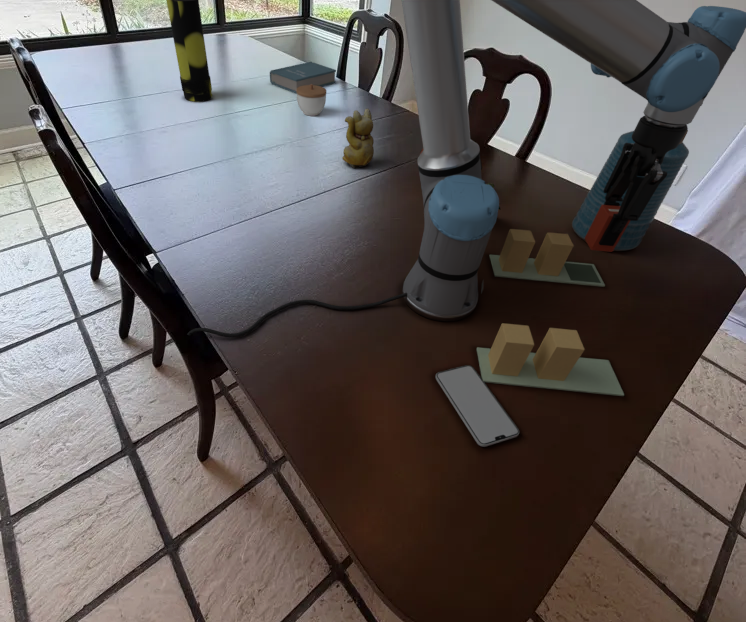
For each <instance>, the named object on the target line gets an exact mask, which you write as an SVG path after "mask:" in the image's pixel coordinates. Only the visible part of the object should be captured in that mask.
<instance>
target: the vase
mask: <svg viewBox="0 0 746 622" xmlns="http://www.w3.org/2000/svg"><path fill="white" fill-rule="evenodd" d="M633 132H634V130H631V131H627V132H624V133H622V134H620V136H619V137H618V139H617V141H616V143H615V144H614V147H613V149H612V151H611V152H610V154H609V155H608V158H607V159H606V161H605V162H604V165H602V168H601V170H600V172H599V173H598V175H597V176H596V179H595V180H594V182H593V184H592V186H591V187H590V189H589V191H588V192H587V194H586V196H585V197H584V200H583V201H582V203H581V205H580V207H579V208H578V210H577V212H576V214H575V216H574V218H573V219H572V221H571V227H572V230H573V232H574V233H575V234H576V235H577V237H579V239H581V240H582V241H583V242H585V243H587V242H586V240H585V236H586V235H587V233H588V231H589V229H590V227H591V225H592V223H593V221H594V219H595V217H596V215H597V213H598V211H599V209H600V207H601V205H604V203H605V201H606V200H605V196H606V193H604V192H603V191H604V188H605V186H606V184H607V182H608V180H609V178H610V176H611V174H612V172H613V170H614V168H615V166H616V164H617V162H618V160H619V158H620V156H621V153H622V150H623V146H624V144H625V143H635V142H634V141H633V140H632V134H633ZM688 132H689V130H687V131H686V133H685V135H684V136H683V138H682V140H681V142H680V143H679V145H678V146H677V148H675V149H673V150H670V151H668V152H667V153H666V154H665V156H664V160H663V163H662V164H661V170H662V171H666V172H667V176H666V178H665V179H664V180H663V181H662V182H661V183H660V184H659V186H658V187H657V189H656V190H655V192H654V194H653V195H652V197H651V199H650V200H649V202H648V204H647V205H646V207H645V209H644V210H643V212H642V214H641V215H640V217H639V219H638V220H637V221H632V220H631V221H630V222H629V224H628V226H627V227H626V229H625V231H624V233H623V234H622V236H621V238H620V240H619V241H618V243H617V245H616V247H615V248H614V250H613V252H623V251H631V250H633V249H635V248H637V247H639V245H640V244H641V243H642V241H643V238H644V236H645V235H646V234H647V232H648V230H649V228H650V227H651V224H652V222H653V221H654V219H655V217H656V216H657V214H658V211H659V209H660V207H661V206H662V203H663V202H664V200H665V198H666V196H667V195H668V193H669V192H670V189H671V187H672V185H673V184H674V182H675V180H676V178H677V176H678V175H679V172H680V171H681V168H682V167H683V165H684V164H685V162H686V160H687V158H689V154H690V150H689V148H688V147H687V146H686V144H685V143H684V140H685V138H686V137H687V134H688ZM637 177H644V176H637ZM611 187H612V186H611ZM626 192H627V190H626ZM626 192H625V193H624V194H623V196H622V197H621V198H622V199H624V197H625V194H626ZM616 202H617V203H619V204H620V205H619V206H621V204H622V202H623V201H622V202H620V201H616Z"/></svg>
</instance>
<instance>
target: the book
mask: <svg viewBox="0 0 746 622" xmlns="http://www.w3.org/2000/svg"><path fill="white" fill-rule="evenodd" d="M336 72H337V70H336V69H335V68H331V67H328V66H326V65H322V64H319V63H316V62H313V61H307V62H304V63H298V64H294V65H289V66H285V67H281V68H276V69H271V70H270V71H269V82H270V84H271V85H274V86H275V87H278V88H280V89H284V90H286V91H289V92H290V93H294V94H296V95H297V92H296V89H297V88H298V87H300V86H304V85H310V84H313V85H316V86H320V87H323V88H324V87H327V86H330V85H335V84H336V83H337V82H336V78H335V77H336Z"/></svg>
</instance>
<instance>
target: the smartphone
mask: <svg viewBox="0 0 746 622" xmlns="http://www.w3.org/2000/svg"><path fill="white" fill-rule="evenodd" d="M435 380H436V382H437V383H438V385H439V386H440V388H441V389H442V391H443V392H444V394H445V396H446V398H448V400H449V402H450V404H451V405H452V406H453V408H454V409H455V412H457V414H458V416H459V418H460V419H461V420H462V422H463V423H464V425H465V427H466V428H467V430H468V432H469V433H470V434H471V436H472V437H473V440H474V441H475V442H476V444H477V445H478V446H480V447H484V448H485V447H488V446H492V445H495V444H498V443H502V442H505V441H508V440H512V439H514V438H517V437H518V436H519V434H520V430H519V427H518V426H517V425H516V424H515V422H514V421H513V420H512V418H511V417H510V415H509V414H508V413H507V412H506V410H505V409H504V407H503V406H502V404H501V403H500V402H499V400H498V399H497V398H496V396H495V395H494V394H493V392H492V390H490V388H489V387H488V385H487V383H486V382H484V381H483V380H482V377H481V375H480V374H479V373H478V371H477V370H476V369H475V367H473V366H472V365H469V364H466V365H462V366H457V367H453V368H450V369H447V370H446V369H445V370H442V371H438V372H437V373H436V374H435Z"/></svg>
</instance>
